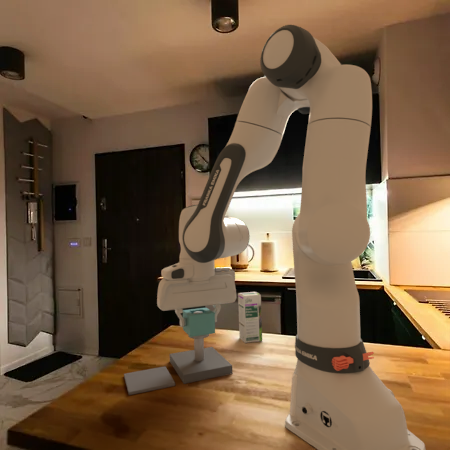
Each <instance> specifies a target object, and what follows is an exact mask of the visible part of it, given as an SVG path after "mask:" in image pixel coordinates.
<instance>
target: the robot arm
mask: <svg viewBox="0 0 450 450" xmlns="http://www.w3.org/2000/svg"><path fill="white" fill-rule="evenodd" d="M259 60H260V61H259V62H260V68H261V72H262V74H263V75H264V76H263V77H260V78H257V79H256V80H255V81H253V82H252V84H251V85H250V86H249V88H248V91H247V93H246V95H245V97H244V99H243V102H242V104H241V107H240V109H239V111H238V112H239V113H238V114H237V117H236V121H235V123H234V127H233V130H232V132H231V135H230V137H229V140H228V142H227V143H226V145H225V147H224V148H223V149H222V150H221V151H220V153H219V154H218V156H217V158H216V160H215V162H214V165H213V167H212V169H211V172H210V174H209V176H208V178H207V182H206V184H205V187H204V189H203V192H202V194H201V196H200V199H199V202H198V203H197V204H192V205H188V206H186V207H185V208H183V209H182V210H181V212H180V215H179V221H178V242H179V244H180V253H179V261H178V262H177V263H175V264H172V265H169V266H166V267H164V268H163V269H161V273H160V274H161V278H162V279H161V280H160V281H159V282H158V287H157V293H156V295H157V296H156V298H157V299H156V304H157V305H156V306H157V307H158V308H159V309H160V310H161V311H163V312H165V311H174V312H175V314H176V316H177V318H178V319H179V326H180V327H181V328H183V327H184V326H187V319H186V318H183V310H184V309H193V308H201V307H207V306H212V307H213V310H212V312H214V313H215V323H217V322H218V314H219V313H220V311H221V309H222V305H224V304H225V305H226V304H232V303H233V304H234V302H236V300H237V289H236V283H235V280H236V272H235V270H234V269H232V268H231V267H229V266H225V267H216V266H215V265H216V264H215V261H216V260H219V259H224V258H229V257H234V256H238V255H239V254H241V253H243V252H244V251H245V250H246V249H247V248H248V246H249V244H250V231H249V228H248V226H247V225H246V223H245V222H244V221H243V220H241V219H240V218H237V217H234V216H229V215H226V214H227V212H228V210H229V207H230V204H231V201H232V200H233V197H234V194H235V192H236V190H237V187H238V185H239V184H240V182H242V180H243V179H244V178H245V177H246V176H249V174H251V173H254V172H255V171H258V170H261V169H263V168H265V167H267V166H268V165H269V164H271V163H272V161H273V160H274V158H275V157H276V155H277V153H278V150H279V149H280V146H281V143H282V140H283V137H284V134H285V130H286V127H287V123H288V121H289V118H290V116H291V115H292V113H294V112H295V111H298V112H299V113H301V114H302V115H307V114H309V115H308V124H307V128H306V129H307V130H306V137H305V146H304V152H303V155H304V156H303V160H302V178H301V179H302V180H301V181H302V182H301V195H300V196H301V198H300V199H301V200H300V207H299V209H300V210H299V214H297V216H296V217H295V219H294V222H293V224H292V227H291V233H292V234H291V237H292V238H291V239H292V241H291V242H292V252H293V253H292V254H293V255H292V256H293V268H294V282H295V292H296V293H295V295H296V322H297V323H296V326H297V328H296V329H297V334H296V335H295V341H294V349H295V352H294V355H295V357H296V358H297V361H296V365H295V368H294V372H293V374H292V377H291V388H290V389H291V390H290V403H289V405H290V409H289V413H288V415H287V416H286V417H285V422H284V423H285V425H284V426H285V428H286V429H287V430H289V431H290V432H291V433H293V434H294V435H296V436H297V437H299V438H300V439H301V440H303V441H305V443H308V444H309V445H311V446H312V447H313V448H314V449H317V450H426V444H425V443H424V441H422V440H421V439H420V438H419V437H418V436H416V435H415V434H414V433H413V432H411V431H410V430H409V429H408V424H407V419H406V415H405V411H404V409H403V406H402V404H401V402H399V400H398V399H397V398H396V396H395V394H394V392H393V391H392V390H391V389H390V388H388V387H387V386H386V385H385V384H384V382H383V380H381V379H380V377H379V376H378V374H376V373H375V371H374V370H373V369H372V368H371V366H370V364H371V363H370V360H372V359H374V358H375V357H374V356H372V355H373V354H374V353H375V352H374V351H370V352H367V349H366V347H365V344H364V340H363V339H362V338H361V315H360V314H361V313H360V312H361V311H360V310H361V309H360V306H361V305H360V295H359V292H358V291H359V290H358V289H357V285H356V279H355V275H354V274H355V273H354V270H353V269H354V268H353V262H352V261H354V260H356V259H357V258H359V257H360V256H361V255H362V254H363V253H364V252H365V250H367V247H368V244H369V242H370V240H371V239H370V238H371V229H370V225H369V224H370V223H369V221H368V204H367V202H368V201H367V187H366V186H367V185H366V184H367V183H366V182H367V181H366V175H367V174H366V170H367V162H368V161H367V159H368V153H369V151H368V150H369V144H370V135H371V129H372V128H371V127H372V118H373V117H372V116H373V91H372V83H371V81H372V80H371V77H370V75H369V74H368V72H367V71H366V70H365V69H364V68H362V67H360V66H358V65H353V64H343V63H342V62H340V61H339V60H338V59H337V57H336V56H335V55H334V54H333V53H332V52H331V50H330V49H329V48H328V46H327V45H325V44H324V43H323V42H321V41H320V40H319V39H317V38H316V37H314V36H313V34H311V32H310V31H308V30H306V29H305V28H303V27H301V26H298V25H295V24H285V25H283V26H281V27H279V28H277V29H276V30H275V31H274V32H272V33H271V35H270V36H269V37H268V38H267V40H266V42H265V43H264V46H263V48H262V50H261V54H260V59H259Z"/></svg>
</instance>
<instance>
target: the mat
mask: <svg viewBox="0 0 450 450" xmlns="http://www.w3.org/2000/svg"><path fill="white" fill-rule="evenodd" d="M123 376H124V381H125V384H126V388H127V394H128V396H131V395H132V396H133V395H137V394H141V393H146V392H151V391H156V390H160V389H166V388H170V387H175V386H176V382H175V380H174V379H173V377H172V375H171V373H170V372H169V369H167V366H165V365H164V366H159V367H154V368H148V369H143V370H137V371H132V372H127V373H123Z"/></svg>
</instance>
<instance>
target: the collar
mask: <svg viewBox="0 0 450 450" xmlns="http://www.w3.org/2000/svg"><path fill="white" fill-rule="evenodd" d="M196 311H202V312H203V313H198V314H194V312H196ZM182 317H183V318H186V319H187V326H184V327H182V330H183V331H184V333H185V334H187V336H188V335H189V336H190V337H193V336H200V335H207V334H209V335H212V334H216V322H215V313H214V312H213V310H211V309H209V308H208V307H197V308H189V309H183V313H182ZM189 336H188V337H189ZM190 337H189V338H190Z"/></svg>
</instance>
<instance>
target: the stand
mask: <svg viewBox="0 0 450 450" xmlns="http://www.w3.org/2000/svg"><path fill="white" fill-rule="evenodd" d="M198 313H203V312H202V311H196V312H194V314H198ZM187 337H188V338H190V339H193V348H194V349H193V350H185V351H184V350H183V351H178V352H174V353H169V363H170V364H171V366H172V367H173V369H174V371H175V372H176V373H177V375H178V376H179V379H180V380H181V381H182V383H183V384H184V385H185V384H188V383H189V384H190V383H194V382H199V381H203V380H209V379H214V378H218V377H223V376H228V375H232V374H233V364H232V363H231V362H230V361H229V360H227V359H226V358H225V357H224V356H223V355H222V354H220V353H219V352H218V350H217V349H215V348H214V347H213V346H208V347H205V341H204V340H205V339H206V338H208V337H210V334H207V335H200V336H193V337H190V336H189V335H188V334H187Z"/></svg>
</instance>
